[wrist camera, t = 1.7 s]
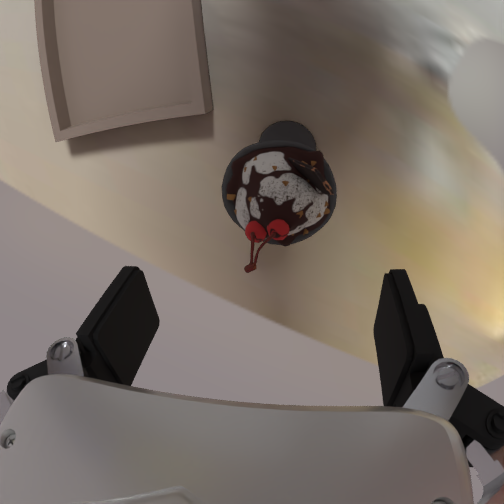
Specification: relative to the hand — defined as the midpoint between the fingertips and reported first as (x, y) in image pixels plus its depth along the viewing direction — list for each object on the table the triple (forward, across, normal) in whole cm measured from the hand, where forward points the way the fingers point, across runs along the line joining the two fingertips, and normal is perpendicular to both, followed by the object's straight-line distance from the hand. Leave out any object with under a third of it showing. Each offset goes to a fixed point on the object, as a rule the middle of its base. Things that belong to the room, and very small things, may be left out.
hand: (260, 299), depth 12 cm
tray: (+18, +14, -15) cm, 27 cm away
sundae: (+18, 0, -1) cm, 18 cm away
